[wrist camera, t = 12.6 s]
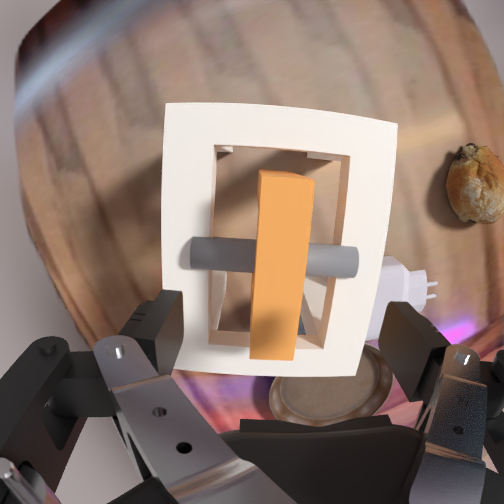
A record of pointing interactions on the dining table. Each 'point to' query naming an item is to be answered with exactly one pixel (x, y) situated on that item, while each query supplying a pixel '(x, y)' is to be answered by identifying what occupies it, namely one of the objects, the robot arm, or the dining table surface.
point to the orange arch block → (279, 263)
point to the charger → (397, 291)
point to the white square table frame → (243, 250)
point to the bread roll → (476, 185)
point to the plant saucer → (333, 393)
